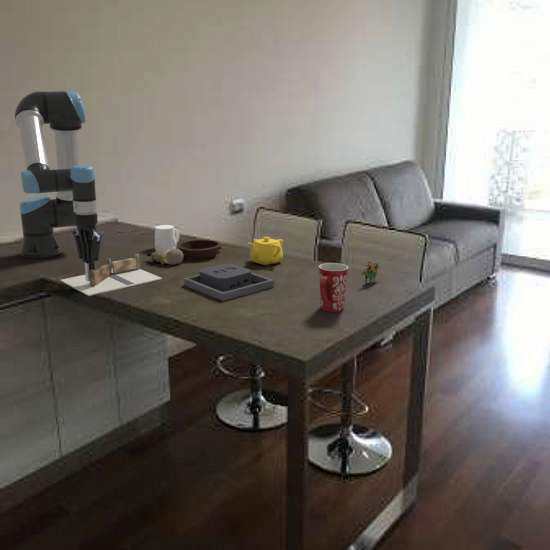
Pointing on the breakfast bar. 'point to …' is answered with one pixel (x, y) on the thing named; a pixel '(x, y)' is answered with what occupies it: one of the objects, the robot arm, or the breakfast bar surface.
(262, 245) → the teapot
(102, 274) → the bar
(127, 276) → the card
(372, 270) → the figurine
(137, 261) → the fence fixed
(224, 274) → the streaming box
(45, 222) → the robot arm
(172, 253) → the toy
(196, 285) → the speaker coaster
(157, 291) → the breakfast bar surface
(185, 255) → the dish
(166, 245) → the mug
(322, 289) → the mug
